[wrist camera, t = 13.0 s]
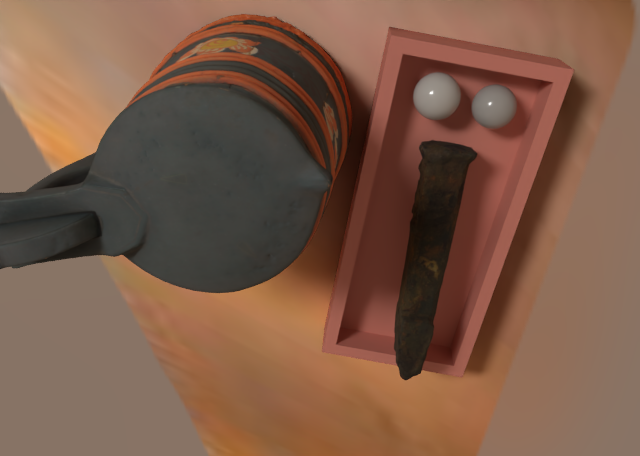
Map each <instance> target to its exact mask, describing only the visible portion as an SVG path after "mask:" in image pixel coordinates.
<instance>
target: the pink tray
mask: <svg viewBox="0 0 640 456" xmlns="http://www.w3.org/2000/svg"><path fill="white" fill-rule="evenodd" d="M434 72H442V73H446V74H448V75H450V76H452V77H453V78H454V79H455V80H456V81H457V83H458V85H459V87H460V91H461V100H460V103H459V106H458V108H457V109H456V111H455V112H454V113H453V114H452V115H450V116H449V117H447V118H445V119H442V120H430V119H427V118H425V117H423V116H422V115H421V114H420V113H419V112H418V111H417V109H416V107H415V105H414V102H413V93H414V89H415V87H416V85H417V83H418V82H419V81H420V80H421V79H422V78H423V77H424V76H426V75H428V74H430V73H434ZM573 72H574V69H572V68H571V67H569V66H568V65H566V64H565V63H564V62H562V61H561V60H559V59H556V58H550V57H545V56H540V55H535V54H529V53H524V52H519V51H514V50H508V49H503V48H498V47H492V46H487V45H482V44H477V43H471V42H466V41H461V40H456V39H450V38H445V37H440V36H435V35H429V34H424V33H419V32H414V31H408V30H403V29H398V28H393V27H389V30H388V35H387V40H386V44H385V49H384V54H383V58H382V63H381V68H380V72H379V77H378V82H377V86H376V91H375V95H374V100H373V105H372V109H371V114H370V119H369V123H368V128H367V133H366V137H365V142H364V147H363V151H362V156H361V160H360V165H359V170H358V174H357V179H356V184H355V188H354V193H353V198H352V202H351V207H350V212H349V216H348V221H347V225H346V230H345V235H344V239H343V244H342V249H341V253H340V258H339V263H338V267H337V272H336V277H335V281H334V286H333V290H332V295H331V300H330V304H329V309H328V314H327V318H326V323H325V328H324V338H323V348H322V352H325V353H330V354H336V355H342V356H347V357H353V358H358V359H364V360H369V361H375V362H380V363H386V364H391V365H397V364H396V352H395V350H394V342H395V340H394V338H395V333H394V327H395V314H396V306H397V302H398V299H399V293H400V287H401V281H402V275H403V270H404V265H405V258H406V252H407V246H408V240H409V232H410V221H411V219H412V217H413V213H411V212H412V207H413V204H414V202H415V199H414V198H415V192H416V190H417V185H418V180H419V179H420V171H419V169H418V166H419V164H420V162H421V160H422V156H421V153H420V150H419V146H420V145H421V142H424V141H431V140H435V141H444V142H450V143H455V144H461V145H465V146H467V147H471V148H472V149H473V150H474V151H476V153H477V157H476V159H475V160H474V161H473V162H471V163H470V165H469V168H468V171H467V175H466V180H465V184H464V191H463V195H462V200H461V205H460V210H459V214H458V218H457V222H456V227H455V231H454V236H453V240H452V244H451V249H450V253H449V258H448V263H447V267H446V270H445V273H444V278H443V283H442V286H441V289H440V295H439V299H438V304H437V309H436V314H435V317H434V321H433V324H434V332H433V337H432V340H431V343H430V346H429V348H428V351H427V356H426V359H425V361H424V364H423V367H422V370H424V371H430V372H436V373H441V374H447V375H452V376H458V377H463V374H464V371H465V369H466V366H467V363H468V360H469V358H470V355H471V352H472V350H473V347H474V344H475V341H476V339H477V336H478V333H479V330H480V328H481V325H482V322H483V319H484V317H485V314H486V311H487V308H488V306H489V303H490V300H491V297H492V295H493V292H494V289H495V286H496V284H497V281H498V278H499V275H500V273H501V270H502V267H503V264H504V262H505V259H506V256H507V253H508V251H509V248H510V245H511V242H512V240H513V237H514V234H515V231H516V229H517V226H518V223H519V220H520V218H521V215H522V212H523V209H524V207H525V204H526V201H527V198H528V196H529V193H530V190H531V187H532V185H533V182H534V179H535V176H536V174H537V171H538V168H539V165H540V163H541V160H542V157H543V154H544V152H545V149H546V146H547V143H548V141H549V138H550V135H551V132H552V130H553V127H554V124H555V121H556V119H557V116H558V113H559V110H560V108H561V105H562V102H563V99H564V97H565V94H566V91H567V88H568V86H569V83H570V80H571V77H572V75H573ZM493 84H498V85H503V86H505V87H507V88H509V89H510V90H511V91H512V92H513V94H514V95H515V97H516V100H517V111H516V114H515V116H514V118H513V119H512V120H511V122H510V123H508V124H507V125H506V126H504V127H501V128H498V129H488V128H485V127H483V126H481V125H480V124H478V123H477V122H476V120H475V119H474V117H473V114H472V109H471V107H472V101H473V99H474V97H475V95H476V94H477V92H478V91H479V90H481V89H482V88H484V87H486V86H488V85H493Z"/></svg>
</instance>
